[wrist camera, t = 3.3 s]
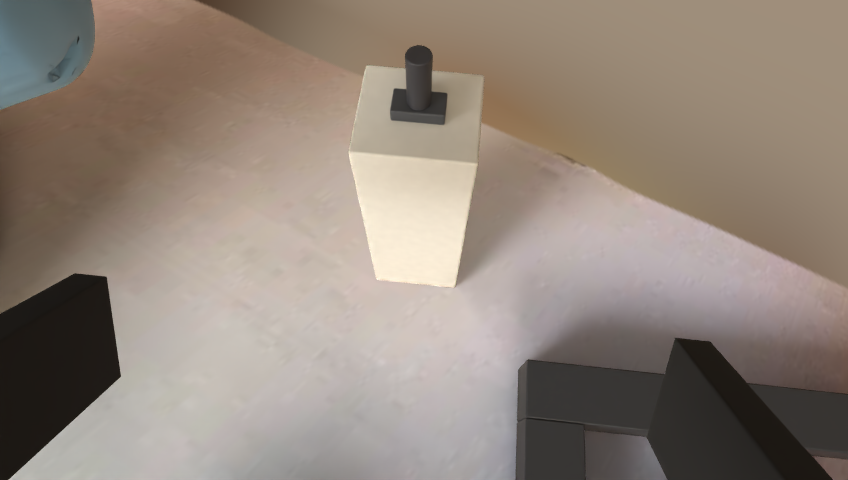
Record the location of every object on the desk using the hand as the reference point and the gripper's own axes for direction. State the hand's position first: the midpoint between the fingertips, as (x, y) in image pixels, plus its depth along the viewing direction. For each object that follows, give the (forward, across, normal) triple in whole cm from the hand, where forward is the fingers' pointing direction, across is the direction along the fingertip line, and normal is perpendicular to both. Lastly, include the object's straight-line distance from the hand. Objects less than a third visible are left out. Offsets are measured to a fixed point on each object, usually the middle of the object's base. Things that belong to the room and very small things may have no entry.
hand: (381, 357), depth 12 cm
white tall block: (+15, 0, -3) cm, 16 cm away
